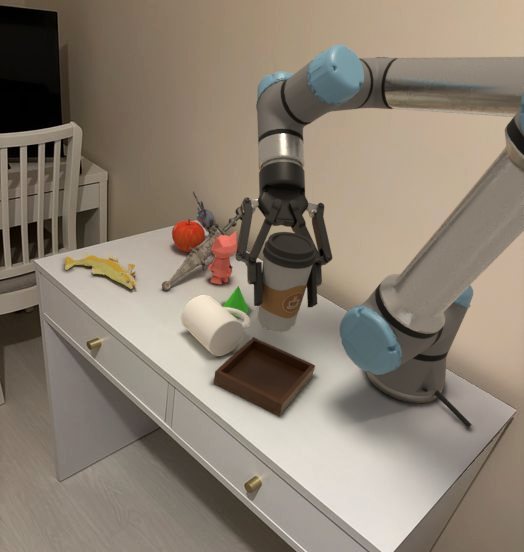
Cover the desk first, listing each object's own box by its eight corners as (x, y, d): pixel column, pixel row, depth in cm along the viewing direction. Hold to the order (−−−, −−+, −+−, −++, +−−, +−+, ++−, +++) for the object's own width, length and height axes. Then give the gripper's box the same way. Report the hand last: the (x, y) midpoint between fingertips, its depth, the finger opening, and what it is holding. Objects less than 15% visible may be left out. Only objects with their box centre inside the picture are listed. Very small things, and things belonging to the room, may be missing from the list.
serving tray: (312, 376, 104) (315, 365, 102) (279, 416, 94) (282, 404, 92) (251, 348, 108) (253, 336, 107) (213, 383, 98) (214, 371, 97)
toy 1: (91, 249, 129) (56, 269, 123) (88, 237, 127) (53, 257, 121) (152, 282, 121) (118, 305, 116) (150, 270, 119) (116, 293, 113)
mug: (207, 361, 103) (211, 326, 98) (179, 333, 109) (181, 299, 104) (257, 344, 110) (263, 310, 105) (228, 318, 115) (232, 285, 111)
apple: (173, 256, 133) (175, 226, 128) (169, 241, 139) (170, 211, 134) (206, 256, 135) (209, 227, 130) (200, 241, 141) (203, 212, 136)
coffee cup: (268, 341, 89) (284, 258, 80) (242, 314, 94) (254, 233, 85) (309, 330, 93) (328, 251, 84) (281, 304, 98) (297, 227, 89)
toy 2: (220, 263, 141) (192, 216, 144) (233, 255, 142) (204, 209, 144) (215, 241, 127) (183, 190, 130) (230, 233, 127) (197, 182, 130)
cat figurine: (222, 270, 131) (228, 223, 124) (241, 283, 127) (248, 236, 120) (199, 277, 127) (203, 230, 119) (218, 291, 123) (224, 243, 116)
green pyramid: (250, 318, 117) (254, 294, 113) (222, 316, 116) (225, 292, 112) (247, 302, 121) (251, 279, 118) (220, 301, 120) (223, 277, 117)
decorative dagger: (170, 302, 122) (250, 225, 136) (175, 301, 120) (256, 222, 134) (150, 276, 120) (233, 200, 133) (154, 275, 118) (239, 197, 131)
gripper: (333, 184, 96) (339, 311, 94) (214, 174, 91) (216, 308, 89) (350, 165, 89) (356, 301, 86) (222, 153, 84) (224, 298, 81)
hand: (285, 304), depth 88 cm, fingers closed on coffee cup, 8 cm apart
